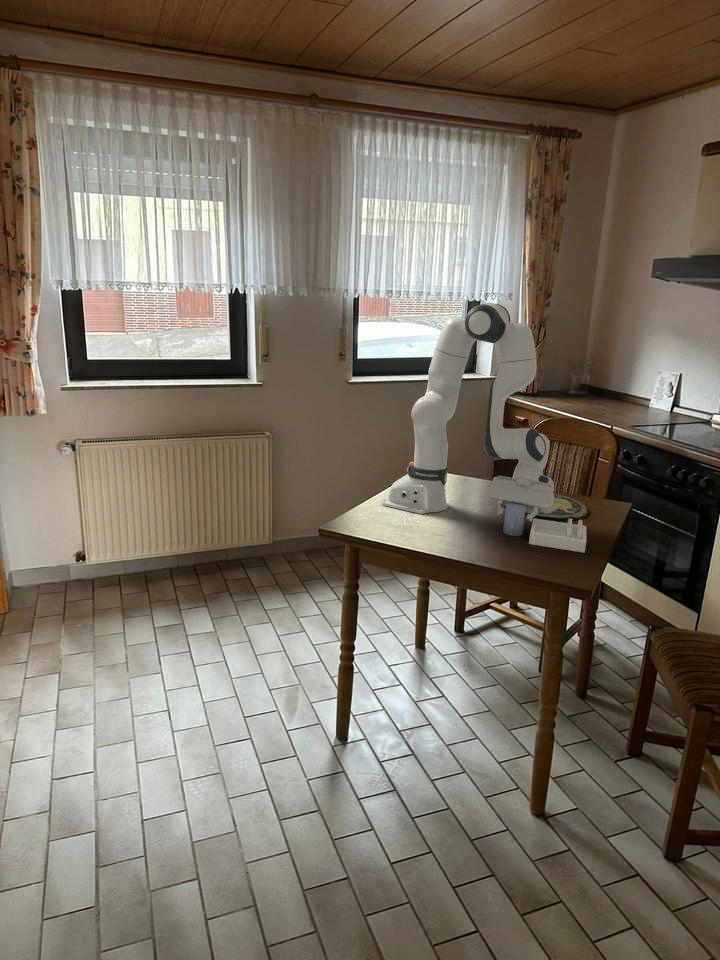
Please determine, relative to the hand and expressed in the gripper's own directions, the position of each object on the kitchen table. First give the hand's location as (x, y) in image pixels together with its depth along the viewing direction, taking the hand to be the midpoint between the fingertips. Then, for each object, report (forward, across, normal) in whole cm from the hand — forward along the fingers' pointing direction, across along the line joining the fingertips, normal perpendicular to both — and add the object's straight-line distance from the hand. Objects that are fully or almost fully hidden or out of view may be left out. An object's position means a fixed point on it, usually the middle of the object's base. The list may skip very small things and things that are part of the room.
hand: (514, 517), depth 208 cm
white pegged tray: (+2, +13, +5) cm, 14 cm away
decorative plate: (-19, +2, +27) cm, 33 cm away
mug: (+3, 0, +4) cm, 5 cm away
